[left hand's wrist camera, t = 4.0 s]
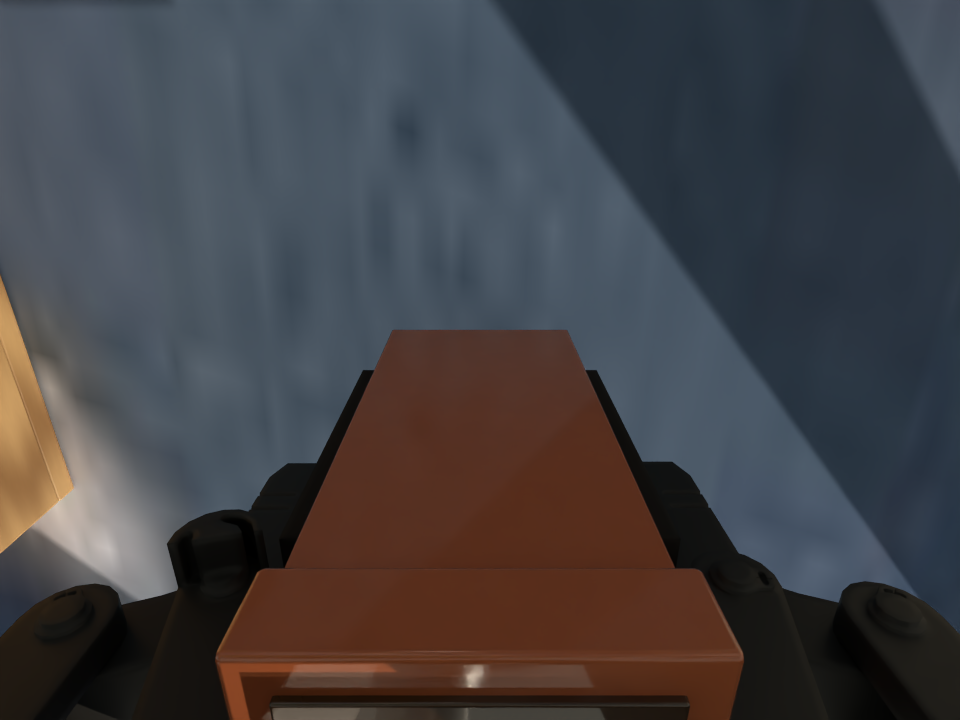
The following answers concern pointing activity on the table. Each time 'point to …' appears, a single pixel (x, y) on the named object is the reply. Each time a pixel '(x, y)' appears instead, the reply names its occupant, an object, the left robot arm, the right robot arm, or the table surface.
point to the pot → (479, 560)
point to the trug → (24, 438)
